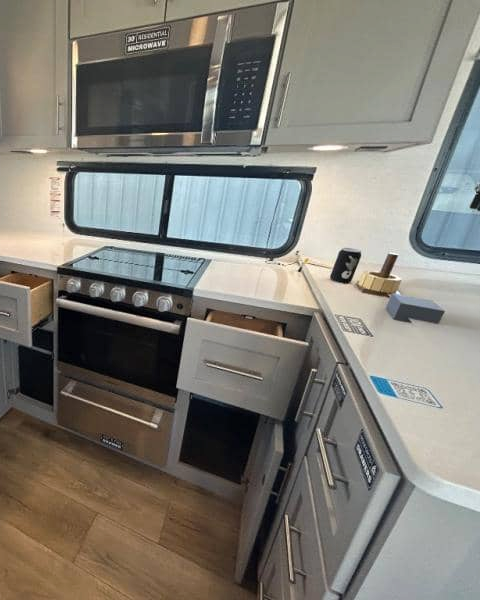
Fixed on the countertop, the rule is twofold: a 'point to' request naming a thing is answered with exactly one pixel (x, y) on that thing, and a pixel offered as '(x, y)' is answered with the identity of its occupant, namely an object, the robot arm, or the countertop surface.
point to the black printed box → (345, 265)
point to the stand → (383, 275)
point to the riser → (414, 309)
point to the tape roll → (379, 282)
